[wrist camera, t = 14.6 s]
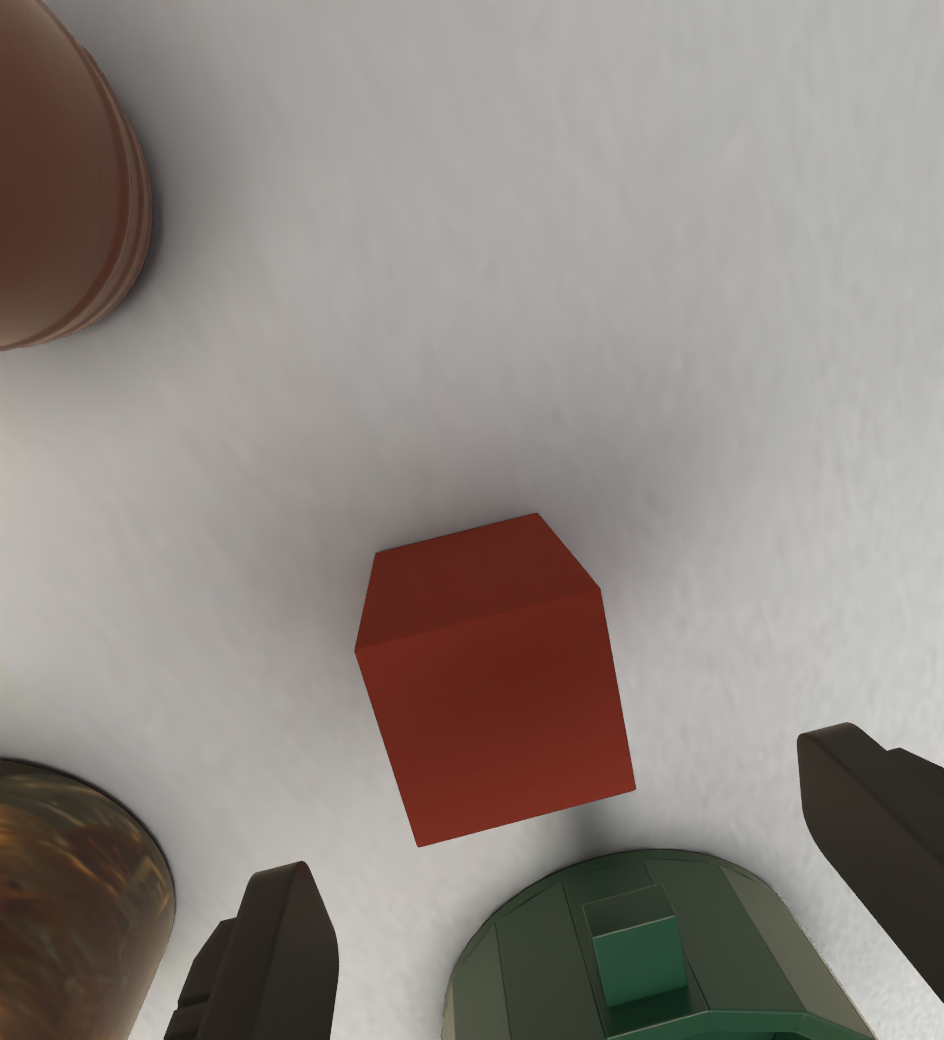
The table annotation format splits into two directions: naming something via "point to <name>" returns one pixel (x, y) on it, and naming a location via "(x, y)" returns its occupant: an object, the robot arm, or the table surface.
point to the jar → (75, 910)
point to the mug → (63, 184)
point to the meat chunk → (492, 679)
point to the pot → (647, 960)
